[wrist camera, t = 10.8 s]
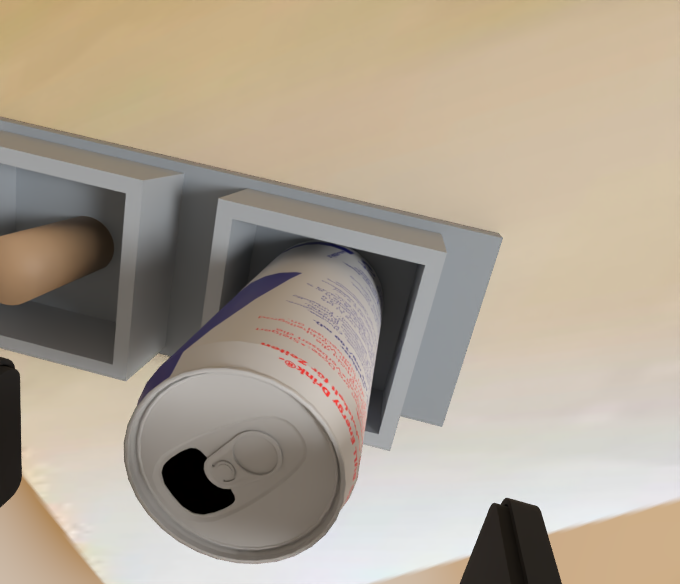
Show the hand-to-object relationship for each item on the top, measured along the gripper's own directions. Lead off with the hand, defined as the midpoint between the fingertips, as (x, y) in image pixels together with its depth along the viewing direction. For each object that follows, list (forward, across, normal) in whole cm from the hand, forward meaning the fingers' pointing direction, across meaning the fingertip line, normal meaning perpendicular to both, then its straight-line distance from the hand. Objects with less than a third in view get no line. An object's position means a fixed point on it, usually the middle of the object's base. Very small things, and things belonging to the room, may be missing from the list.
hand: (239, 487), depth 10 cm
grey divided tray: (+14, +6, +1) cm, 15 cm away
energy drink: (+13, +1, +1) cm, 13 cm away
